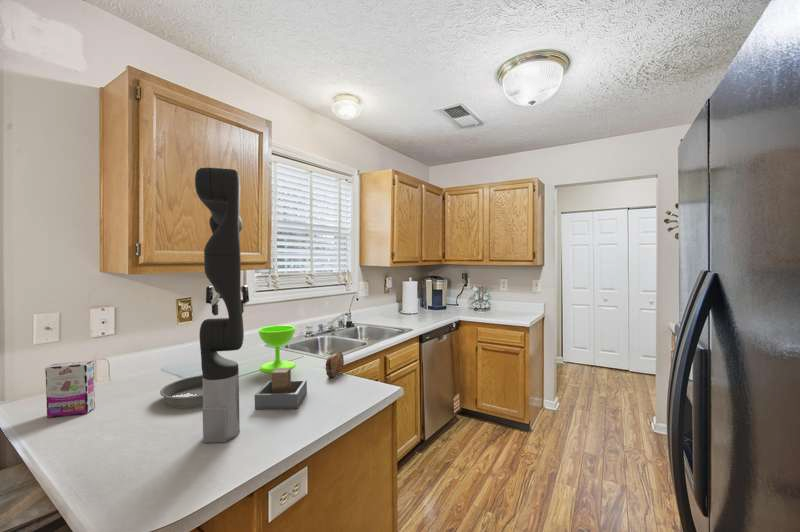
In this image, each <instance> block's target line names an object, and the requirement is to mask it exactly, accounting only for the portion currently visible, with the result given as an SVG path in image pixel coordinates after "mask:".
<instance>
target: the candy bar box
mask: <svg viewBox="0 0 800 532" xmlns="http://www.w3.org/2000/svg"><path fill="white" fill-rule="evenodd" d="M94 363H95V362H94V360H89V361H88V360H87V361H86V360H85V361H75V362H74V361H72V362H63V363H61V362H60V363H54V364H51V365H49V366H46V367H45V368H44V369H45V372H44V373H45V391H46V392H45V393H46V417H47V419H51V418H60V417H69V416H70V417H71V416H79V415H85V414H89V413H90V412H92V411H93V410H95V409H96V399H95V398H96V397H95V396H96V395H95V373H94V372H95V371H94V370H95V368H94ZM94 408H95V409H94ZM91 410H92V411H91Z"/></svg>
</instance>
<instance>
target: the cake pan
mask: <svg viewBox="0 0 800 532" xmlns="http://www.w3.org/2000/svg"><path fill="white" fill-rule="evenodd" d="M187 393H190V394H193V395H195V394H197V395H196V396H189V397H172V396H174V395H175V396H176V395H181V394H183V395H184V394H187ZM159 394H160V396H161V397H163V398H164V400H165V403H167V404H168V405H167V404H166V405H167V406H169V407H171V406H173V407H172V408H178V407H188V408H195V407H196V406H197V407H203V378H202V374H201V375H195V376H190V377H185V378H182V379H179V380H176V381H173V382H170V383H168V384H166V385H164V387H162V388H161V389H160V392H159Z"/></svg>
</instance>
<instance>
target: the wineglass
mask: <svg viewBox="0 0 800 532" xmlns="http://www.w3.org/2000/svg"><path fill="white" fill-rule="evenodd" d="M295 331H296V327H295V326H294V325H272V326H265V327H261V328H259V329H258V335H259V338H260V340H261V341H263V342H264V343H265V344H266V345H268V346H271V347H275V348H274V349H275V350H274V351H275V353H274V355H275V357H274V358H275V360H274V361H269V362H266V363H263V364H262V365H261V366H260V367H259V369H260V370H259V372H262V373H268V374H269V373H270V374H272V372H273V371H274V370H275V369H276V368H291V370H294V369H295V368H296V367H297V366H296V363H295V362H293V361H290V360H281V356H280V355H281V352H280V351H281V350H280V347H281V346H284V345H286V344H288V343H289V342H290V341H291V340H292V338H293V337H294V335H295Z"/></svg>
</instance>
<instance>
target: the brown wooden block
mask: <svg viewBox="0 0 800 532" xmlns="http://www.w3.org/2000/svg"><path fill="white" fill-rule="evenodd" d="M291 371H292V369H291V368H276V369H275V370H274V371H273V372H272V373H271V381H272V394H276V393H291V380H292V379H291V378H292V377H291V376H292V375H291V373H292V372H291Z"/></svg>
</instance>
